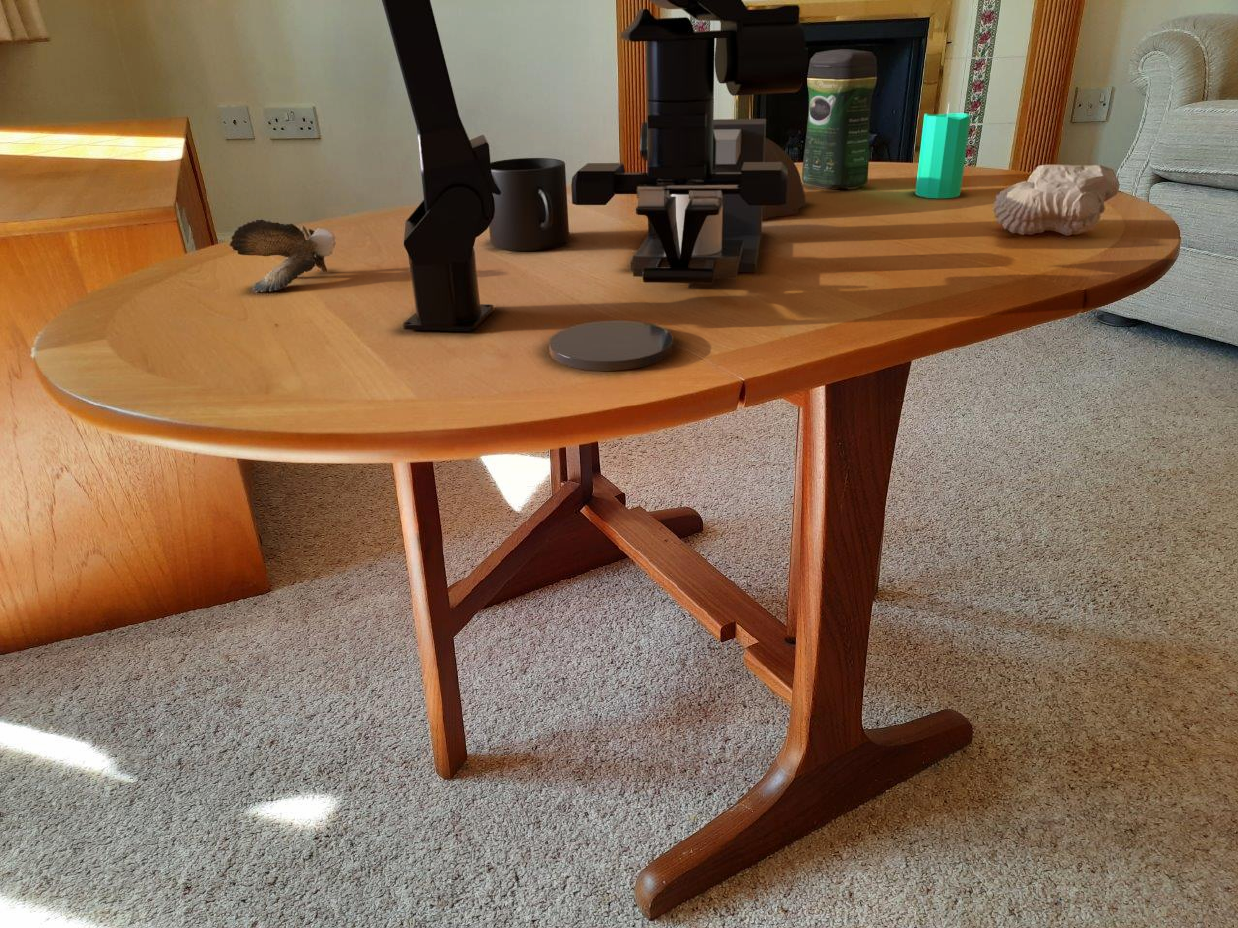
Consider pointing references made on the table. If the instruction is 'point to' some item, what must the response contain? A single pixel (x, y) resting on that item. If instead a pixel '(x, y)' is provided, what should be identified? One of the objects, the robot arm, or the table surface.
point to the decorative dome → (794, 185)
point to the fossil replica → (1057, 199)
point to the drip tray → (700, 266)
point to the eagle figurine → (283, 250)
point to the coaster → (611, 345)
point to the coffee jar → (839, 118)
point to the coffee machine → (739, 218)
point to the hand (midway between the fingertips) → (680, 279)
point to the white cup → (709, 233)
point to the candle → (942, 155)
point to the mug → (529, 204)
